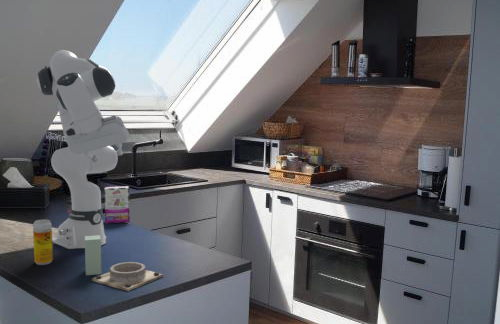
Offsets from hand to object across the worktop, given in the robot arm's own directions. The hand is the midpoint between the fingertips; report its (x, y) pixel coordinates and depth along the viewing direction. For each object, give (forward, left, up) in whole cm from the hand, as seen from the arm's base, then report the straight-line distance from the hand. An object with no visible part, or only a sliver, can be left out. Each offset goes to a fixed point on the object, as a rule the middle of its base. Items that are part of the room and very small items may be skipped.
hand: (108, 157), depth 180 cm
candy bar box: (-47, +49, -39) cm, 78 cm away
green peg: (-3, -5, -39) cm, 39 cm away
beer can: (-25, -8, -39) cm, 47 cm away
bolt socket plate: (+11, -3, -39) cm, 40 cm away
